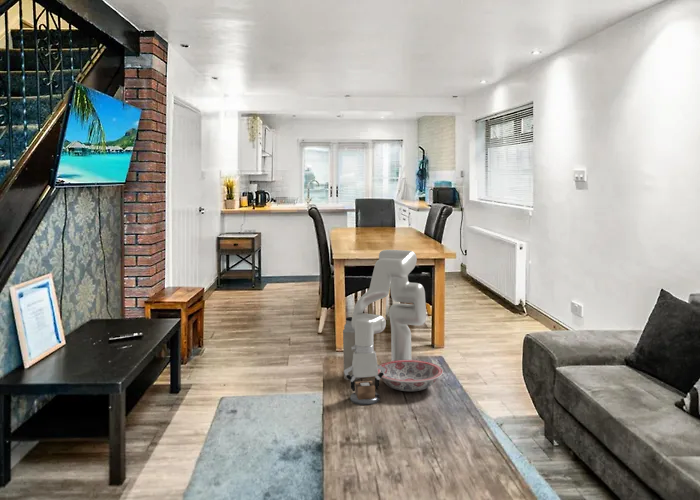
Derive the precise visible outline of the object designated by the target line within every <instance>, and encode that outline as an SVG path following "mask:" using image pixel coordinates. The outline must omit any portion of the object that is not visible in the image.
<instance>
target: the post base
mask: <svg viewBox="0 0 700 500" xmlns="http://www.w3.org/2000/svg"><path fill="white" fill-rule="evenodd" d="M360 386H370V384H369V382H367V383H360ZM349 397H350V402H351V403H353V404H355V405H359V406H369V405H374V404H377V403H379V402H380V400H381V399H380V393H378V392H376V391H375V398H374V399H360V400H358V398H357V396H356V393H355V392H353V393H351V394H350V396H349Z"/></svg>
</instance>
